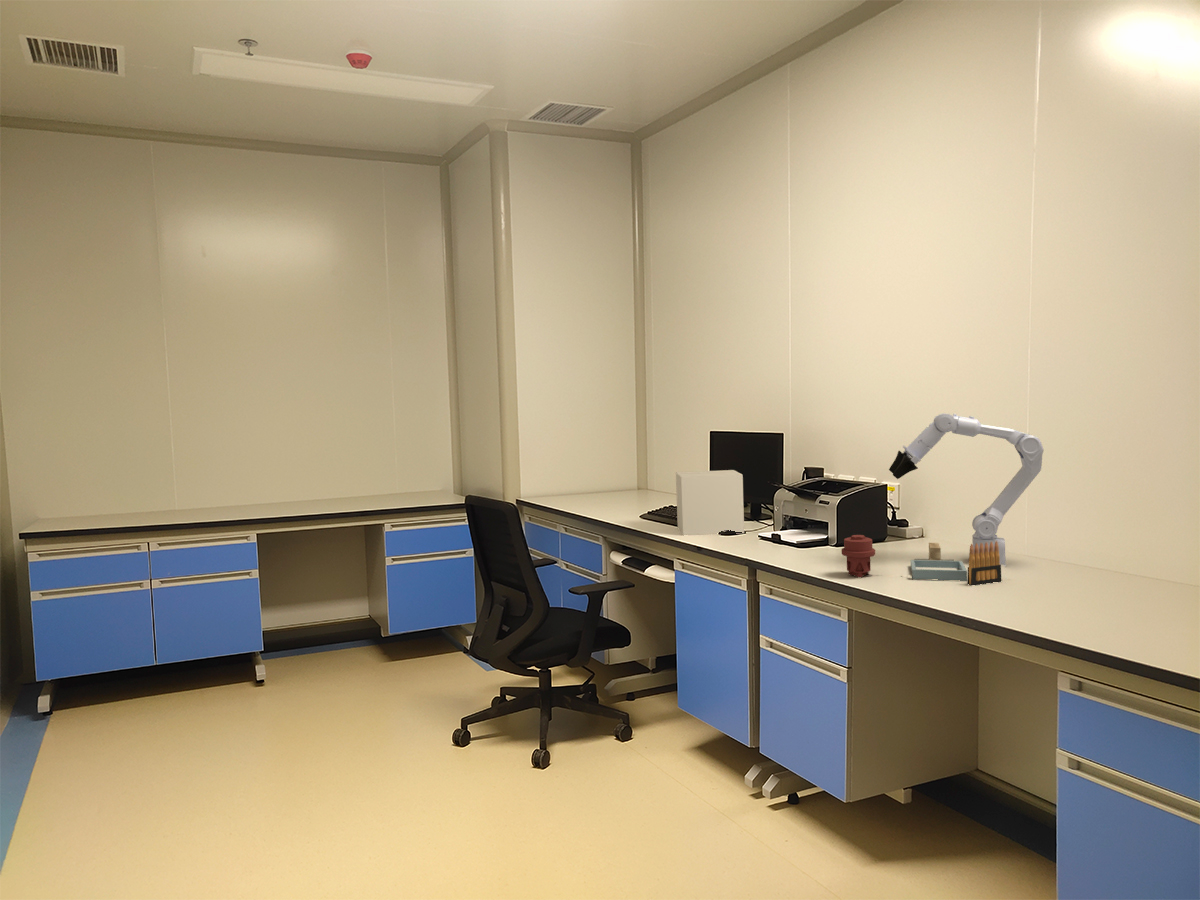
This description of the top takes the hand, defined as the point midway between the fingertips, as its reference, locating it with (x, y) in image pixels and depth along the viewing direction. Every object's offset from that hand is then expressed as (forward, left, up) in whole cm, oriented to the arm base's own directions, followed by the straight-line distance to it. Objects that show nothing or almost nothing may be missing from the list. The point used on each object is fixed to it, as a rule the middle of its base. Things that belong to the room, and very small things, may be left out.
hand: (893, 474), depth 278 cm
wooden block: (-12, +2, -28) cm, 31 cm away
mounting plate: (-12, +2, -29) cm, 32 cm away
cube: (+72, -62, -30) cm, 100 cm away
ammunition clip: (-24, +26, -29) cm, 46 cm away
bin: (-12, +16, -29) cm, 35 cm away
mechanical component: (+11, +20, -29) cm, 37 cm away
